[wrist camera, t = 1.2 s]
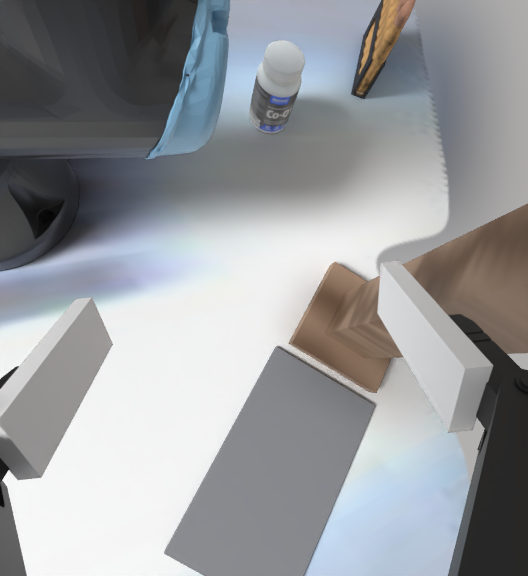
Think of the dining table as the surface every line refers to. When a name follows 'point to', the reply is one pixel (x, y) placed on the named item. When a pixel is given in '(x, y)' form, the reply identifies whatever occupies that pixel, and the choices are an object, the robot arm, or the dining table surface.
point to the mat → (273, 476)
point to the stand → (439, 285)
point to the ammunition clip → (379, 42)
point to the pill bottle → (276, 86)
